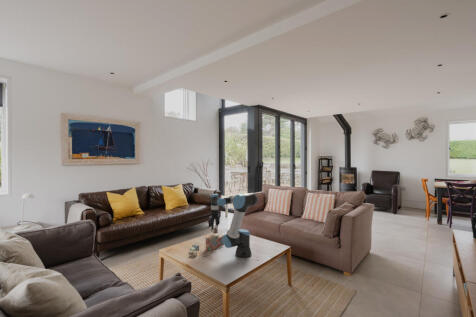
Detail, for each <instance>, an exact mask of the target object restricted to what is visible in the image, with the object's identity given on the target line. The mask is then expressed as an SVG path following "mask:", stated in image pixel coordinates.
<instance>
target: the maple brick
mask: <svg viewBox="0 0 476 317" xmlns="http://www.w3.org/2000/svg"><path fill="white" fill-rule="evenodd" d="M189 257H193V258H196V257H198V250H196V251H190V250H189Z"/></svg>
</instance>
